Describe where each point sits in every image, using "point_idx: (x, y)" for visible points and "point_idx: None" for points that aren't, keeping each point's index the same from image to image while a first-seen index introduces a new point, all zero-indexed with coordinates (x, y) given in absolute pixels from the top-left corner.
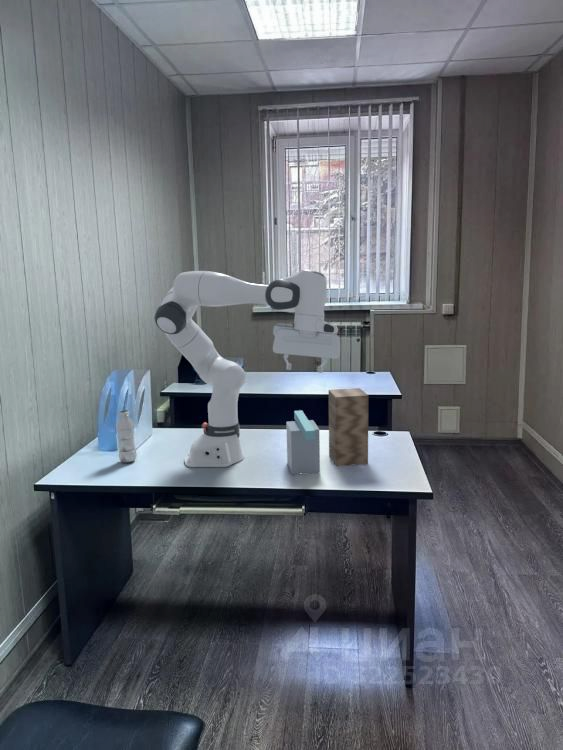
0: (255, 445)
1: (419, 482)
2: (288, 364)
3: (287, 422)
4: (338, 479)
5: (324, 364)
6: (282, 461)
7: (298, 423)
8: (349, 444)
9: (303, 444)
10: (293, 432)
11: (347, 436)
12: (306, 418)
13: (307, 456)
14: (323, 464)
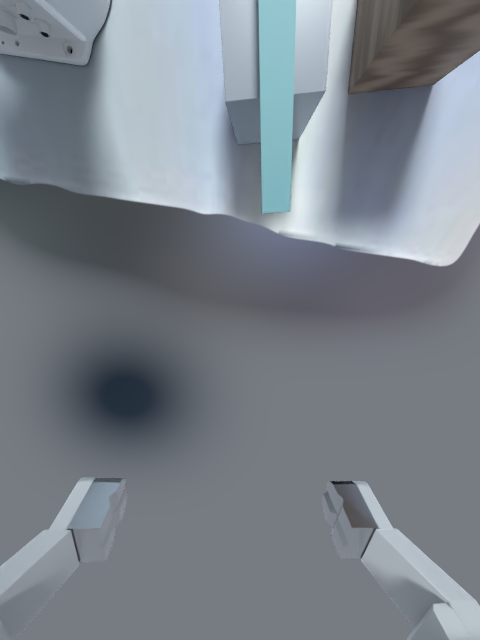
0: None
1: (472, 226)
2: (80, 555)
3: None
4: (326, 188)
5: (401, 591)
6: (220, 25)
7: (258, 12)
8: (417, 56)
9: None
10: (234, 102)
11: (428, 38)
12: (292, 8)
13: None
14: None
